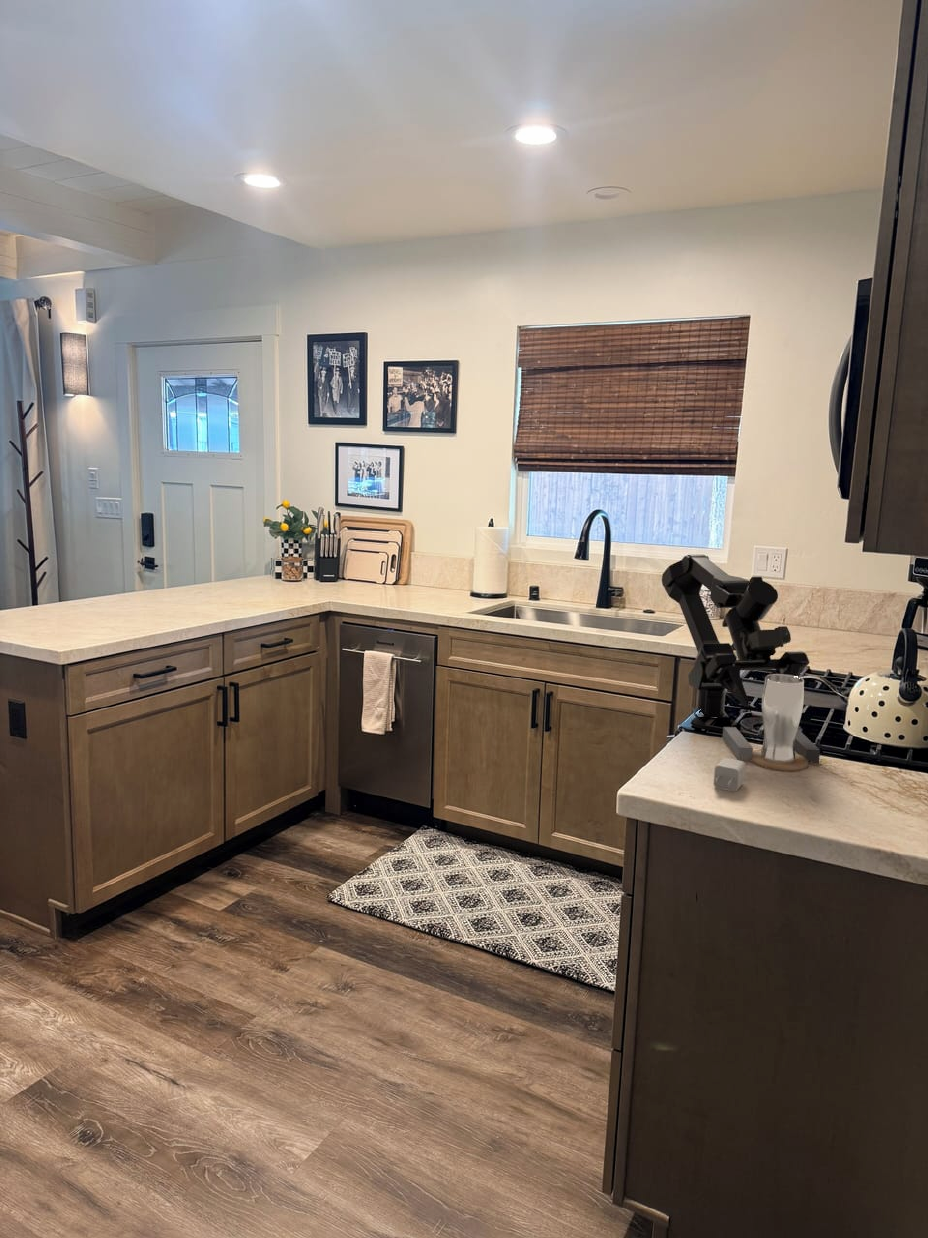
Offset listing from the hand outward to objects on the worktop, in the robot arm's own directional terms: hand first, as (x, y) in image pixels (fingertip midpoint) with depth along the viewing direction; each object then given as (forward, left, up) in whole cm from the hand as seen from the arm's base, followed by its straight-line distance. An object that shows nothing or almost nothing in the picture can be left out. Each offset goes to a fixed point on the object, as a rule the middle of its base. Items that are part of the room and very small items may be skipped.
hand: (769, 705), depth 155 cm
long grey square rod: (-2, +7, -9) cm, 12 cm away
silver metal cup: (+4, +1, -9) cm, 10 cm away
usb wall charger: (+18, -12, -10) cm, 24 cm away
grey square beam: (-2, -5, -9) cm, 11 cm away
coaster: (+4, +1, -9) cm, 10 cm away
